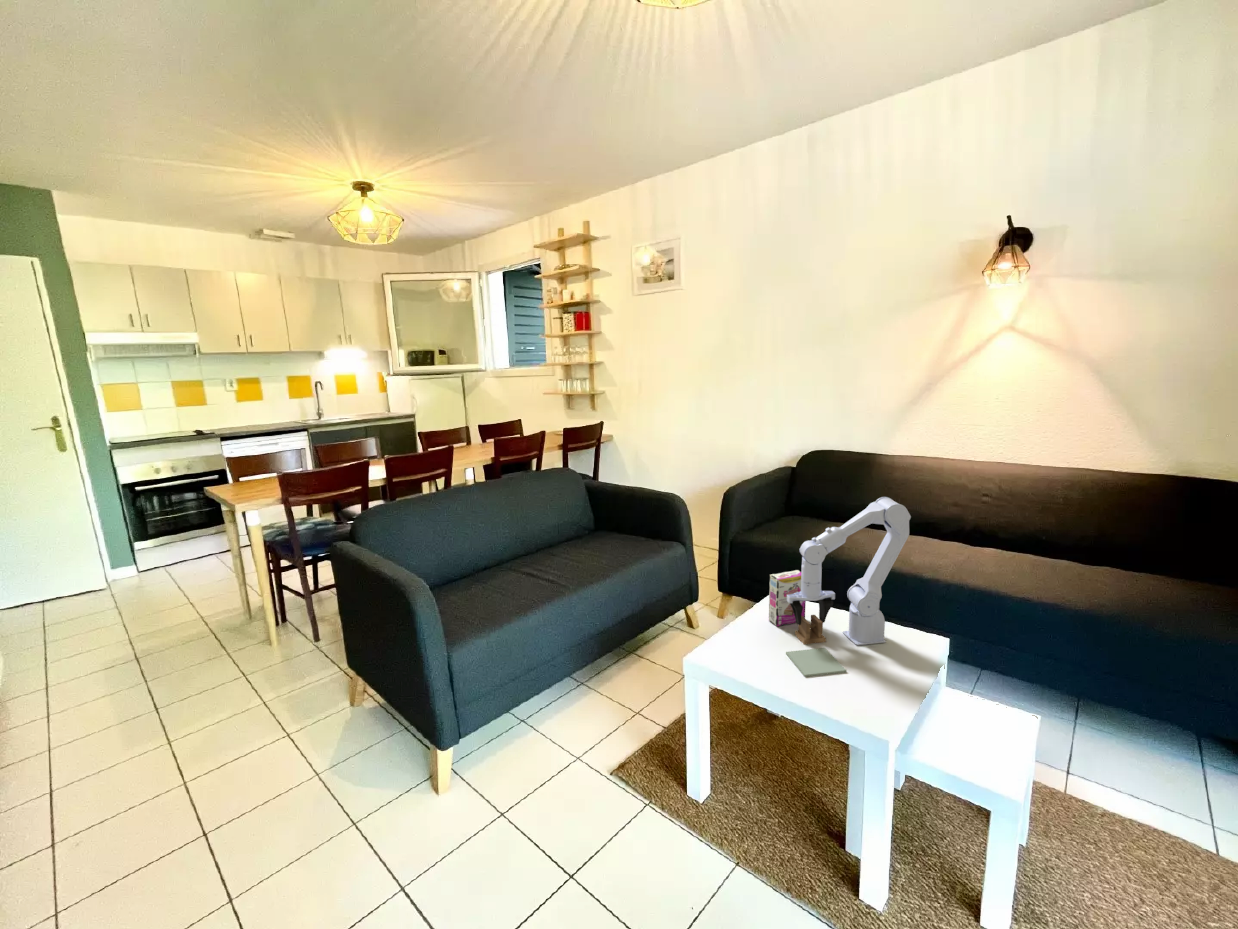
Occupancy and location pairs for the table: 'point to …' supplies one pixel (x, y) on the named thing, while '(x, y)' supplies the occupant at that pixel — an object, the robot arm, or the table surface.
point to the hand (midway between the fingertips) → (810, 622)
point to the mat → (815, 662)
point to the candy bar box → (783, 597)
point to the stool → (810, 631)
